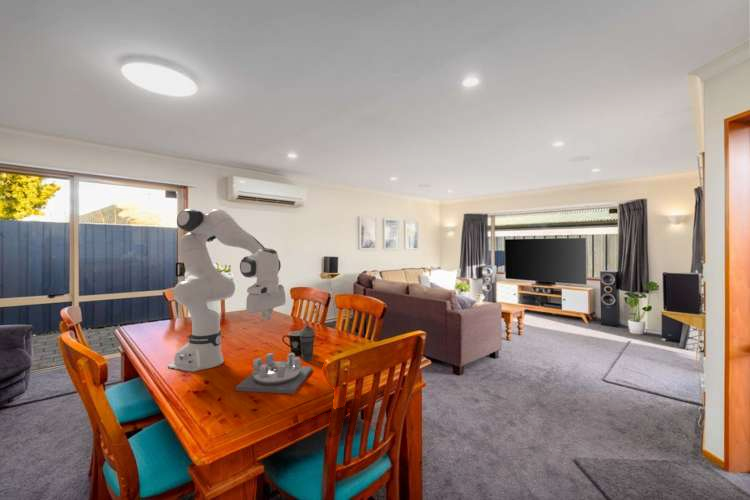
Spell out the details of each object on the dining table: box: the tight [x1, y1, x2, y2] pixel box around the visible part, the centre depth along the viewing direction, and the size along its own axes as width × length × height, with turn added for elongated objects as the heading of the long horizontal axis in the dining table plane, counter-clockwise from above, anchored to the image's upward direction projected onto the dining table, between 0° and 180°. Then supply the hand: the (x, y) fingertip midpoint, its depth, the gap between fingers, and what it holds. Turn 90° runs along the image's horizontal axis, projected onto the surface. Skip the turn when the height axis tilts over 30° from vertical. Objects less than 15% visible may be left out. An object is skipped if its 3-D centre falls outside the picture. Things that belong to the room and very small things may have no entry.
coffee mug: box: [281, 330, 302, 356], centre depth 160 cm, size 12×9×10 cm
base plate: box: [235, 365, 313, 395], centre depth 128 cm, size 22×22×2 cm
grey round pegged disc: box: [252, 352, 302, 385], centre depth 127 cm, size 19×18×6 cm
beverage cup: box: [299, 317, 316, 362], centre depth 150 cm, size 7×7×20 cm
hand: (267, 319), depth 135 cm, fingers closed
